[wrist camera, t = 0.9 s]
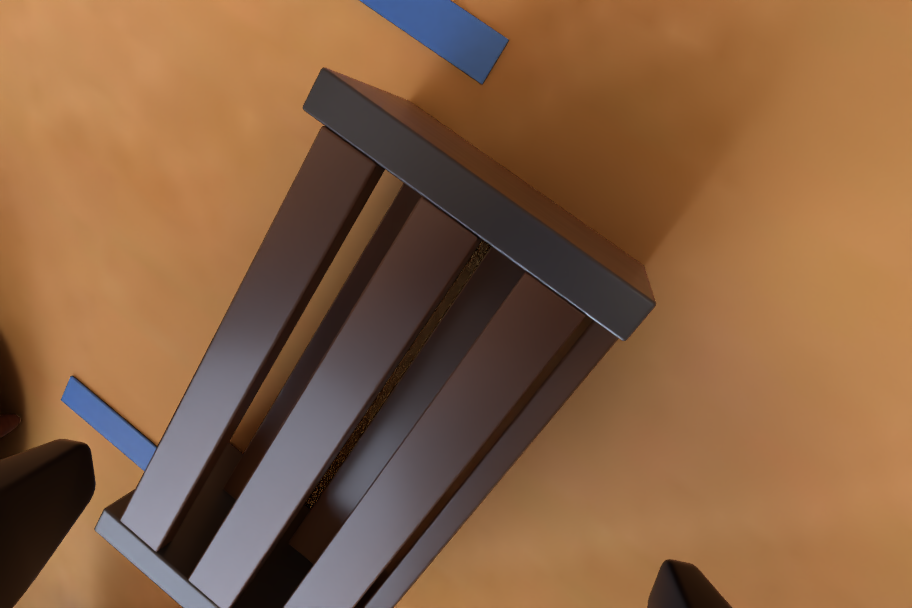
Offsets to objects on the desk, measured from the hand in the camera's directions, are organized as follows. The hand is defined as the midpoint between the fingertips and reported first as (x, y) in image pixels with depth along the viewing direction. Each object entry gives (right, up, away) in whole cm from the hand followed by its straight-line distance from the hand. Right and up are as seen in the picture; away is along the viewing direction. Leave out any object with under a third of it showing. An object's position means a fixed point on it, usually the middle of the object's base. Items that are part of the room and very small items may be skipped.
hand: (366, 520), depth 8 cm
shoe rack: (-1, +1, +13) cm, 13 cm away
